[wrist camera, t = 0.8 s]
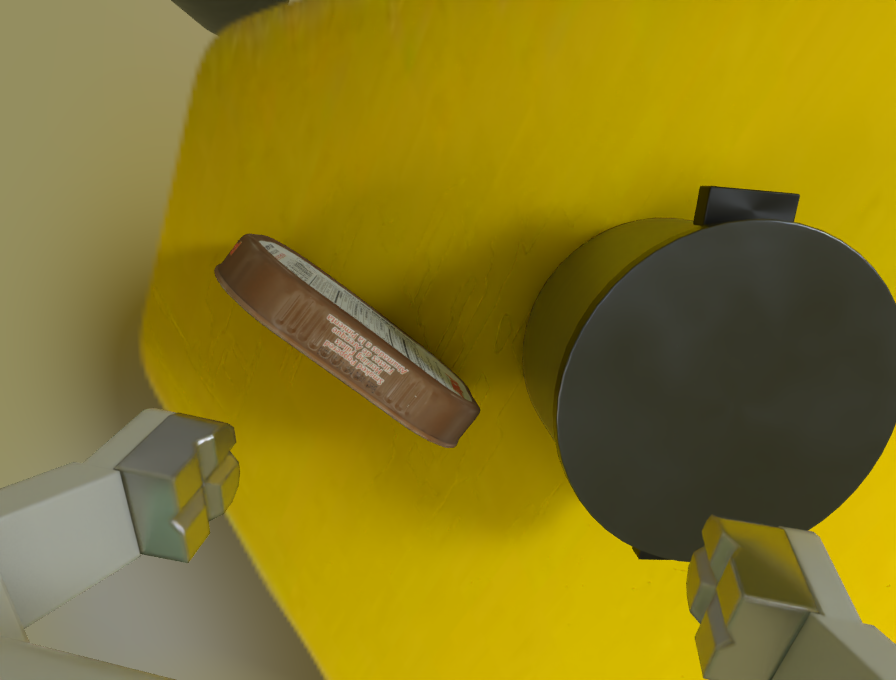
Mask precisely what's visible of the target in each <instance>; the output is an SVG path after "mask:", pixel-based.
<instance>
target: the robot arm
mask: <svg viewBox="0 0 896 680" xmlns="http://www.w3.org/2000/svg"><path fill="white" fill-rule="evenodd" d="M235 443H236V437H235V431H234V427H233V426H231V425H230V424H228V423H224V422H220V421H215V420H210V419H206V418H201V417H196V416H192V415H187V414H182V413H175V412H170V411H166V410H161V409H156V408H150V409H146V410H143V411H142V412H141V413H140V414H138V415H137V416H136V417H135V418H134V419H133V420H132V421H130V422H129V423H128V424H127V425H126V426H125V427H123V428H122V429H121V430H120V431H119V432H118V433H117V434H115V435H114V436H113V437H112V438H111V439H110V440H109V441H107V442H106V443H105V444H104V445H103V446H102V447H100V448H99V449H98V450H97V451H96V452H95V453H94V454H92V456H90V457H89V458H88V459H87V460H86V461H84V462H83V463H77V462H72V463H69V464H66V465H64V466H61V467H58V468H55V469H53V470H50V471H47V472H44V473H42V474H39V475H36V476H33V477H31V478H28V479H26V480H23V481H20V482H17V483H14V484H11V485H9V486H6V487H3V488H0V680H175V679H171V678H167V677H163V676H158V675H155V674H151V673H147V672H143V671H139V670H135V669H131V668H127V667H123V666H119V665H115V664H111V663H107V662H103V661H99V660H95V659H91V658H88V657H84V656H80V655H75V654H71V653H68V652H64V651H60V650H56V649H52V648H48V647H44V646H40V645H36V644H32V643H30V642H29V640H28V637H27V635H26V633H25V630H24V629H25V628H27V627H28V626H30V625H32V624H33V623H35V622H36V621H38V620H40V619H41V618H43V617H44V616H46V615H48V614H49V613H51V612H52V611H54V610H56V609H57V608H59V607H61V606H62V605H64V604H65V603H67V602H69V601H70V600H72V599H73V598H75V597H77V596H78V595H80V594H81V593H83V592H85V591H86V590H88V589H90V588H91V587H93V586H94V585H96V584H97V583H99V582H101V581H102V580H104V579H106V578H107V577H109V576H110V575H112V574H114V573H115V572H117V571H119V570H120V569H122V568H123V567H125V566H126V565H128V564H130V563H131V562H133V561H135V560H136V559H138V558H139V557H140V556H141V555H140V554H144V555H149V556H154V557H159V558H165V559H170V560H175V561H180V562H185V563H189V561H190V560H191V558H192V557H193V556H194V554H195V553H196V552H197V550H198V549H199V547H200V546H201V545H202V543H203V542H204V541H205V539H206V538H207V537H208V535H209V534H210V528H209V521H211V520H213V519H215V518H217V517H219V516H221V515H223V514H224V513H225V512H226V510H227V509H228V507H229V506H230V504H231V503H232V502H233V499H234V496H235V494H236V491H237V488H238V486H239V477H240V469H239V462H238V461H237V459H236V458H235V457H234V456H233V454H232V453H231V452H230V450H231V448H232V447H233V446H234V445H235ZM702 535H703V540H704V544H705V546H703V547H701V548H699V549H698V550H696V551H694V552H693V555H692V558H691V561H690V564H689V567H688V574H687V582H686V588H687V600H688V605H689V611H690V613H691V614H692V615H693V616H694V617H695V618H696V620H697V621H698V622H699V623H700V626H699V629H698V631H697V633H696V636H695V641H696V646H697V650H698V655H699V660H700V665H701V669H702V674H703V678H705V679H709V680H896V644H894V643H893V642H892V641H891V640H890V639H889V638H887V637H886V636H885V635H884V634H883V633H882V632H881V631H879V630H878V629H877V628H876V627H875V626H873V625H868V624H864V623H862V621H861V619H860V617H859V615H858V613H857V611H856V609H855V607H854V605H853V603H852V601H851V599H850V597H849V595H848V593H847V591H846V589H845V587H844V585H843V583H842V581H841V579H840V577H839V575H838V573H837V571H836V569H835V567H834V565H833V563H832V561H831V559H830V557H829V555H828V553H827V551H826V549H825V547H824V545H823V543H822V541H821V539H820V537H819V536H818V535H816V534H815V533H814V532H811V531H805V530H799V529H794V528H788V527H782V526H778V527H776V526H773V525H767V524H762V523H756V522H751V521H745V520H740V519H734V518H729V517H723V516H718V515H711V516H710V517H709V518H708V519H707V520H706V523H705V525H704V528H703V530H702Z"/></svg>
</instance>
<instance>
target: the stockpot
mask: <svg viewBox="0 0 896 680" xmlns="http://www.w3.org/2000/svg"><path fill="white" fill-rule="evenodd" d="M799 197H800V195H799V194H794V193H783V192H772V191H761V190H750V189H739V188H728V187H717V186H700V189H699V195H698V200H697V205H696V211H695V216H694V221H692V220H684V219H676V218H651V219H643V220H637V221H633V222H629V223H626V224H622V225H619V226H617V227H614V228H612V229H609V230H607V231H605V232H603V233H601V234H599V235H597V236H596V237H594V238H592V239H590V240H589V241H587V242H586V243H585V244H583V245H582V246H581V247H579V248H578V249H576V250H575V251H574V252H573V253H572V254H571V255H570V256H569V257H568V258H566V259H565V260H564V261H563V262H562V263H561V264H560V265H559V267H558V268H557V269H556V270H555V272H554V273H553V274H552V275H551V276H550V278H549V279H548V281H547V282H546V284H545V285H544V287H543V289H542V290H541V292H540V293H539V295H538V298H537V300H536V302H535V304H534V306H533V308H532V311H531V314H530V317H529V320H528V323H527V326H526V332H525V337H524V342H523V370H524V378H525V382H526V387H527V391H528V394H529V396H530V399H531V402H532V404H533V407H534V408H535V410H536V412H537V414H538V416H539V417H540V419H541V421H542V422H543V424H544V425H545V427H546V429H547V430H548V432H549V433H550V435H551V437H552V438H553V440H554V441H555V443H556V448H557V453H558V457H559V460H560V462H561V465H562V468H563V470H564V473H565V476H566V478H567V479H568V481H569V483H570V485H571V487H572V488H573V490H574V492H575V494H576V495H577V497H578V499H579V500H580V502H581V503H582V504H583V506H584V507H585V508H586V509H587V511H588V512H589V513H590V515H591V516H592V517H593V518H594V519H595V520H596V521H597V522H598V523H599V524H601V525H602V526H603V527H604V528H605V529H606V530H607V531H609V532H610V533H611V534H613V535H614V536H616V537H617V538H618V539H620V540H621V541H623V542H625V543H627V544H629V545H631V546H632V549H633V551H634V552H635V554H636V555H637V557H638V558H639V559H648V560H677V561H685V562H690V561H691V558H692V555H693V552H694V551H696V550H698V549H699V548H701V547H703V546H705V544H704V540H703V535H702V530H703V528H704V525H705V523H706V520H707V519H708V518H709V517H710V516H711V515H718V516H723V517H729V518H734V519H740V520H745V521H751V522H756V523H762V524H767V525H773V526H776V527H778V526H782V527H788V528H794V529H799V530H805V531H808V530H809V529H811V528H812V527H814V526H815V525H817V524H818V523H820V522H821V521H823V520H824V519H825V518H826V517H828V516H829V515H830V514H831V513H832V512H834V511H835V510H836V509H837V508H839V507H840V506H841V505H842V504H843V503H844V502H845V501H846V500H847V499H848V498H849V497H850V496H851V495H852V493H853V492H854V491H855V490H856V489H857V488H858V487H859V485H860V484H861V483H862V482H863V480H864V479H865V478H866V477H867V475H868V474H869V473H870V471H871V470H872V468H873V467H874V465H875V464H876V462H877V461H878V459H879V457H880V456H881V454H882V452H883V450H884V448H885V446H886V444H887V442H888V440H889V438H890V436H891V434H892V432H893V429H894V427H895V424H896V303H895V301H894V299H893V297H892V295H891V293H890V291H889V289H888V287H887V286H886V284H885V283H884V281H883V280H882V279H881V277H880V276H879V274H878V273H877V272H876V270H875V269H874V268H873V267H872V266H871V265H870V264H869V263H868V262H867V261H866V260H865V259H864V258H863V257H862V256H861V255H860V254H859V253H858V252H857V251H855V250H854V249H852V248H851V247H850V246H848V245H847V244H846V243H844V242H843V241H841V240H840V239H838V238H836V237H834V236H832V235H830V234H828V233H826V232H824V231H822V230H819V229H816V228H813V227H810V226H806V225H803V224H800V223H795V222H794V219H795V214H796V210H797V206H798V201H799Z"/></svg>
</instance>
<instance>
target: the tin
mask: <svg viewBox="0 0 896 680" xmlns="http://www.w3.org/2000/svg"><path fill="white" fill-rule="evenodd" d="M215 276H216V278H217V280H218V282H219V283H220V285H221V286H222V287H223V289H224V290H225V291H226V292H227V293H228V294H229V295H230V296H231V297H232V298H233V299H234V300H235V301H236V302H237V303H238V304H239V305H240V306H241V307H242V308H243V309H244V310H245V311H247V312H248V313H249V314H250V315H251V316H253V317H254V318H255V319H256V320H257V321H259V322H260V323H261V324H262V325H263V326H265V327H267V328H268V329H269V330H270V331H272V332H273V333H274V334H276V335H277V336H279V337H280V338H281V339H283V340H284V341H286V342H287V343H289V344H290V345H291V346H293V347H294V348H296V349H297V350H298V351H300V352H301V353H303V354H304V355H306V356H307V357H308V358H310V359H311V360H312V361H314V362H315V363H317V364H318V365H319V366H321V367H322V368H324V369H325V370H326V371H328V372H329V373H331V374H332V375H334V376H335V377H337V378H338V379H339V380H341V381H342V382H343V383H345V384H346V385H348V386H349V387H350V388H352V389H353V390H355V391H356V392H358V393H359V394H360V395H362V396H363V397H365V398H366V399H367V400H369V401H370V402H371V403H373V404H374V405H376V406H377V407H379V408H380V409H381V410H383V411H384V412H385V413H387V414H388V415H390V416H391V417H392V418H394V419H395V420H396V421H398V422H399V423H401V424H402V425H404V426H405V427H406V428H408V429H409V430H411V431H413V432H414V433H416V434H418V435H419V436H421V437H423V438H425V439H427V440H428V441H430V442H433V443H435V444H438V445H440V446H443V447H447V448H453V447H455V446H456V445H457V443H458V440H459V438H460V437H461V436H462V435H463V433H464V432H465V431H466V430H467V428H468V427H469V426H470V425H471V424H472V422H473V421H474V420H475V419H476V417H477V416H478V414H479V413H480V408H479V406H478V405H477V403H476V401H475V400H474V398H473V397H472V395H471V392H470V390H469V388H468V387H467V386H466V384H465V383H464V382H463V381H462V380H461V379H460V378H459V377H458V376H457V375H456V374H455V373H453V372H452V371H451V370H450V369H449V368H448V367H447V366H446V365H444V364H443V363H442V362H441V361H440V360H439V359H437V358H436V357H435V356H434V355H432V354H431V353H430V352H429V351H427V350H426V349H425V348H424V347H423V346H421V345H420V344H419V343H417V342H416V341H415V340H413V339H412V338H411V337H409V336H408V335H407V334H406V333H404V332H403V331H402V330H400V329H399V328H398V327H397V326H395V325H394V324H393V323H391V322H390V321H389V320H388V319H386V318H385V317H384V316H383V315H381V314H380V313H379V312H377V311H376V310H375V309H374V308H372V307H371V306H370V305H368V304H367V303H366V302H364V301H363V300H362V299H360V298H359V297H358V296H356V295H355V294H354V293H352V292H351V291H350V290H348V289H347V288H346V287H344V286H343V285H342V284H340V283H339V282H337V281H336V280H335V279H333V278H332V277H331V276H329V275H328V274H327V273H325V272H324V271H323V270H321V269H320V268H318V267H317V266H315V265H314V264H313V263H311V262H310V261H308V260H307V259H305V258H304V257H302V256H301V255H299V254H298V253H296V252H295V251H293V250H292V249H290V248H289V247H287V246H285V245H284V244H282V243H280V242H278V241H276V240H274V239H273V238H270V237H268V236H264V235H255V234H246V235H244V236H243V237H241V238H240V240H239V241H238V242H237V243H236V245H235V246H234V248H233V249H232V250H231V252H230V253H229V254H228V256H227V257H226V258H225V260H224V261H223V262H222V263H221V264H219V265H217V266H216V268H215Z"/></svg>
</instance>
